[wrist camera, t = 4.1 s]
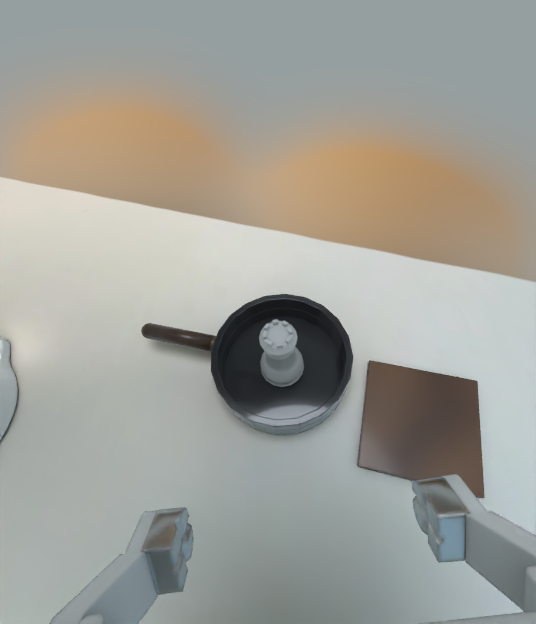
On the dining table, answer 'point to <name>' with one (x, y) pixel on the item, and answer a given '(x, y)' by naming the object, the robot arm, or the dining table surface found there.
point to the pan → (316, 357)
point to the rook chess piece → (280, 354)
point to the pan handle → (178, 336)
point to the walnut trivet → (421, 425)
